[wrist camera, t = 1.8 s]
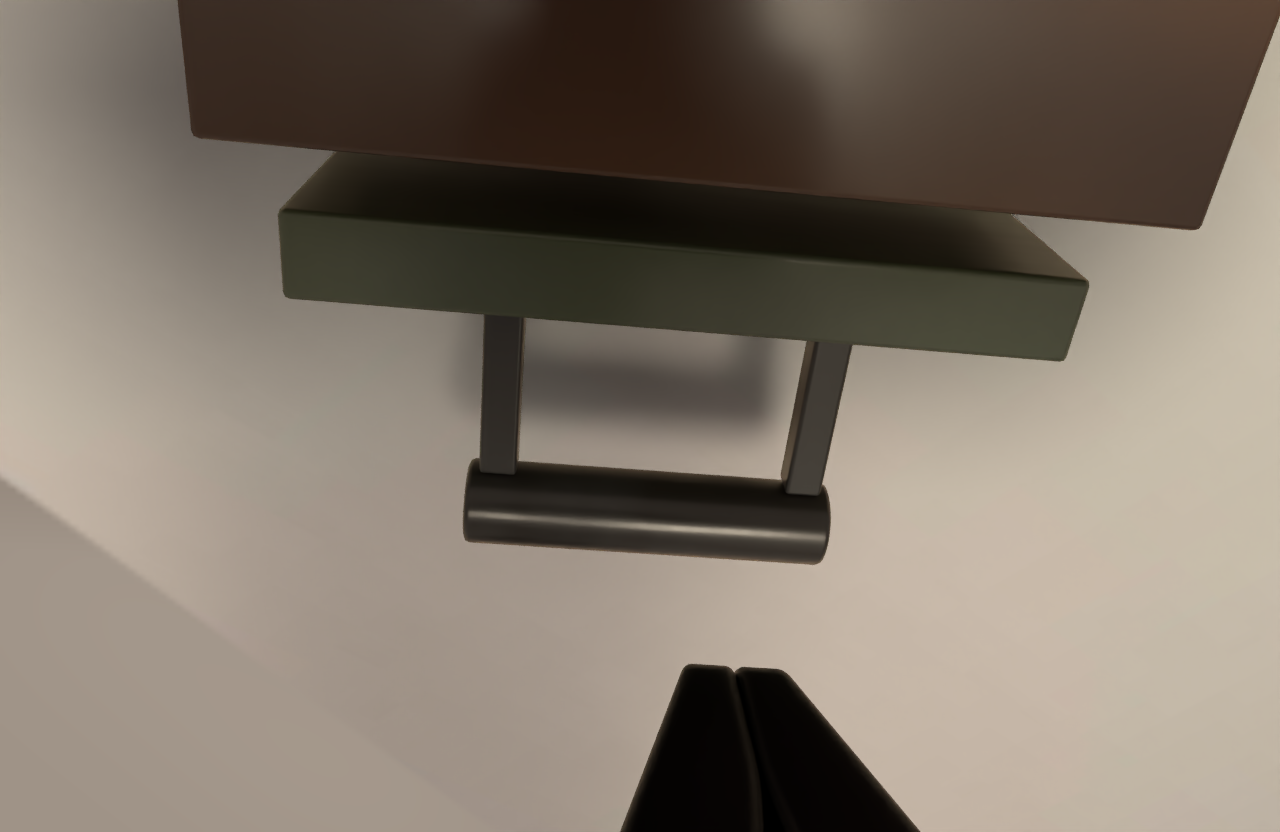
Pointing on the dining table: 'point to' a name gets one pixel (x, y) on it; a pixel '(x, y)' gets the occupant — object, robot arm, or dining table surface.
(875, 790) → the robot arm
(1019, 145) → the cabinet
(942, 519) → the dining table surface
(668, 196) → the drawer
